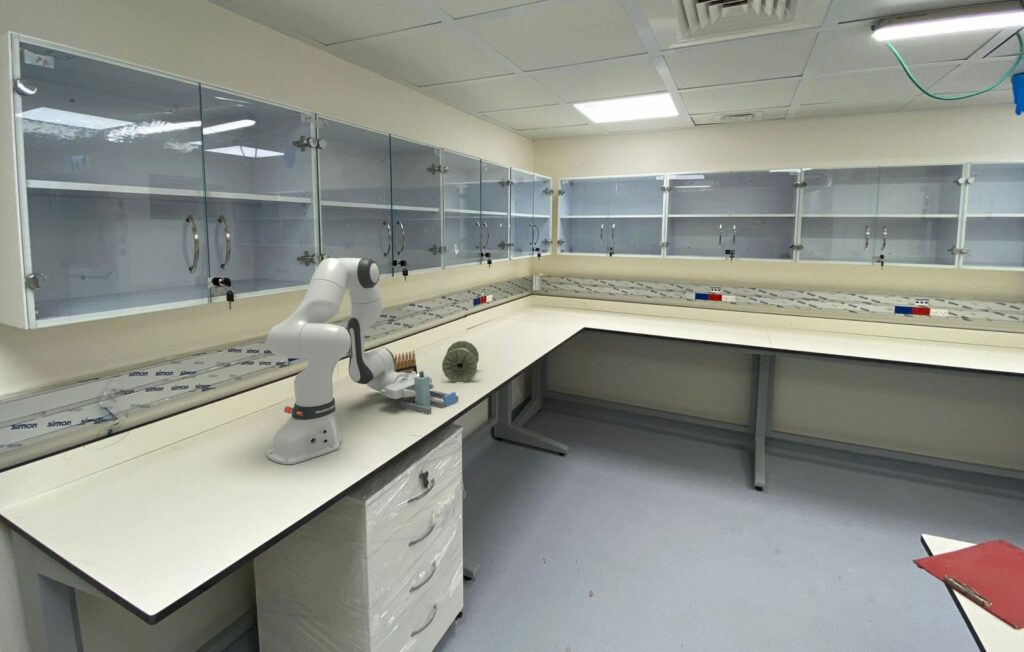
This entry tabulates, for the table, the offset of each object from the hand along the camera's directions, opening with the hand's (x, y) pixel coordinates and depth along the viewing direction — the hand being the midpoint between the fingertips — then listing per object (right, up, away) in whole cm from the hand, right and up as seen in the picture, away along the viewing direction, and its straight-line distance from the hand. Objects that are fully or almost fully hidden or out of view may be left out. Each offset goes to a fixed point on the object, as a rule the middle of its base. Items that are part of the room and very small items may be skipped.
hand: (423, 389), depth 194 cm
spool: (+10, +1, +40) cm, 41 cm away
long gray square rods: (+2, -6, +5) cm, 8 cm away
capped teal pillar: (-1, -7, +2) cm, 7 cm away
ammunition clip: (-15, 0, +40) cm, 43 cm away
